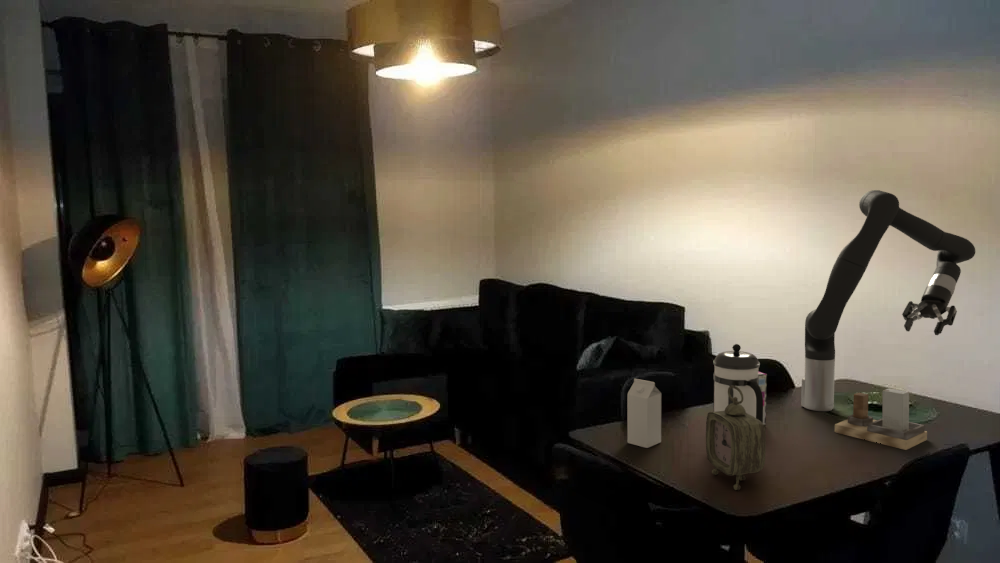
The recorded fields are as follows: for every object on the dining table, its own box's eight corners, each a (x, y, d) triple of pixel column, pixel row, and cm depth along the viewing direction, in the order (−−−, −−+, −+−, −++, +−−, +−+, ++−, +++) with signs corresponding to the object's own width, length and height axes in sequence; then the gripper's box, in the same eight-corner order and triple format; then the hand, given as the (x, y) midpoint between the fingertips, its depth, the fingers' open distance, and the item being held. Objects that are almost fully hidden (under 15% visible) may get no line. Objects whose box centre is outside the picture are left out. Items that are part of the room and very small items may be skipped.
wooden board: (834, 432, 229) (835, 395, 228) (856, 423, 237) (857, 387, 236) (906, 450, 213) (907, 410, 211) (926, 439, 221) (928, 401, 219)
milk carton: (641, 437, 229) (641, 376, 226) (661, 442, 224) (661, 380, 221) (627, 443, 224) (627, 380, 221) (647, 448, 219) (647, 384, 216)
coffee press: (699, 449, 217) (700, 346, 214) (718, 433, 230) (719, 337, 227) (761, 460, 207) (763, 353, 204) (777, 443, 220) (779, 342, 217)
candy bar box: (766, 425, 238) (768, 374, 236) (753, 426, 236) (754, 375, 234) (746, 415, 248) (746, 366, 246) (732, 416, 247) (733, 367, 245)
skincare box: (909, 431, 220) (911, 391, 219) (902, 435, 218) (904, 394, 216) (887, 426, 225) (889, 387, 224) (880, 430, 222) (882, 390, 221)
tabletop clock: (705, 473, 199) (706, 380, 196) (736, 469, 201) (737, 378, 198) (734, 494, 185) (735, 395, 182) (767, 490, 187) (769, 392, 184)
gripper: (912, 282, 243) (894, 321, 238) (960, 285, 232) (942, 327, 226) (919, 296, 247) (901, 335, 242) (966, 301, 236) (949, 342, 230)
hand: (921, 331), depth 234 cm, fingers open, 8 cm apart
